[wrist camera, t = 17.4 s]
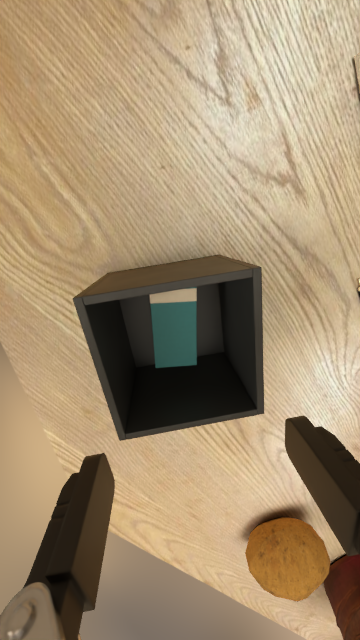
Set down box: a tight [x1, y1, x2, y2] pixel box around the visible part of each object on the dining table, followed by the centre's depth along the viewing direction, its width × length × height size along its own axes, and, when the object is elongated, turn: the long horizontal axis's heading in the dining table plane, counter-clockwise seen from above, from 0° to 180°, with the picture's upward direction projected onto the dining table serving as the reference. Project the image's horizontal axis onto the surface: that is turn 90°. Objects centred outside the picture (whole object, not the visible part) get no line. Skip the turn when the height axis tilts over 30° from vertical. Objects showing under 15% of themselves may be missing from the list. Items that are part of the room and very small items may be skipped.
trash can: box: [73, 255, 264, 441], centre depth 21 cm, size 12×12×11 cm
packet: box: [149, 287, 197, 368], centre depth 23 cm, size 4×6×8 cm
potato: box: [245, 517, 330, 601], centre depth 38 cm, size 10×13×9 cm
